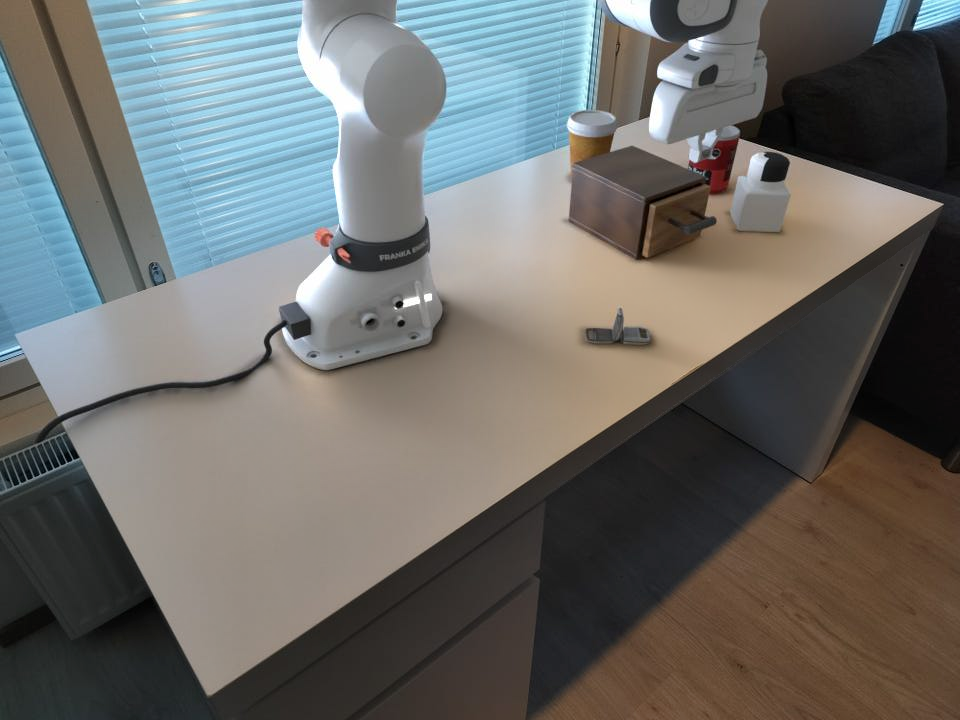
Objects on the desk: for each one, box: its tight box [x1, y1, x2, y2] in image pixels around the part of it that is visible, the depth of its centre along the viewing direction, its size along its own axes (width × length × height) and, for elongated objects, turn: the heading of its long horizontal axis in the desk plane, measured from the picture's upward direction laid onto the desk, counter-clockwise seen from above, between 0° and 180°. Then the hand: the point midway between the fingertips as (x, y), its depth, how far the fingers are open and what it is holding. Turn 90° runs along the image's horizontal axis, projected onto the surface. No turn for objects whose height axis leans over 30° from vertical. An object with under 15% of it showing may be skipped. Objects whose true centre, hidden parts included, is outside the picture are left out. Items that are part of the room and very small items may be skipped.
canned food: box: [687, 125, 741, 195], centre depth 127 cm, size 8×8×11 cm
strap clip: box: [585, 307, 651, 346], centre depth 91 cm, size 8×3×4 cm, turn 86°
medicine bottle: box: [729, 151, 791, 233], centre depth 115 cm, size 7×7×12 cm
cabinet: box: [568, 145, 706, 260], centre depth 114 cm, size 17×14×11 cm
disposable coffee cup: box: [566, 109, 619, 180], centre depth 130 cm, size 10×10×12 cm
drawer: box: [641, 184, 718, 258], centre depth 111 cm, size 20×12×9 cm, turn 35°
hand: (699, 159), depth 100 cm, fingers closed
